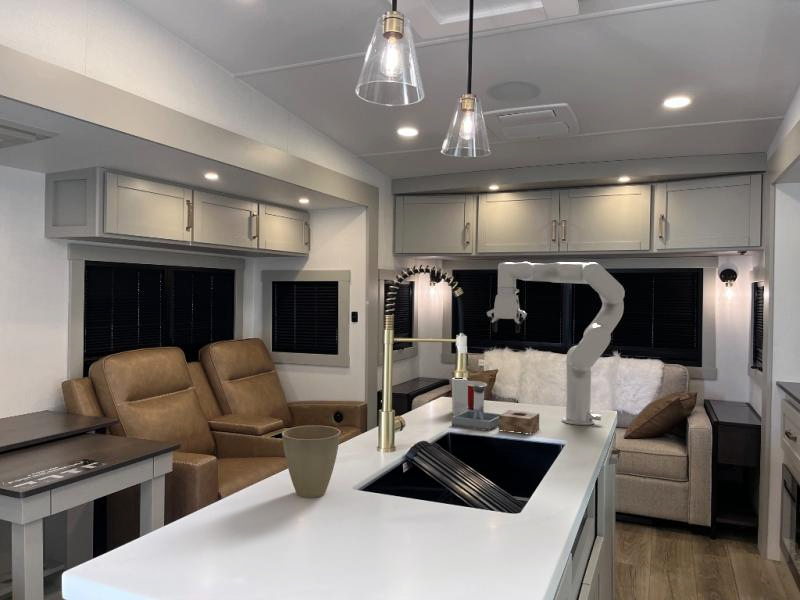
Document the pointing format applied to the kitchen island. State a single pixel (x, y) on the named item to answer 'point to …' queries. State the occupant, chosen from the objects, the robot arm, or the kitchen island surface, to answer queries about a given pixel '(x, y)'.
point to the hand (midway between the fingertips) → (506, 332)
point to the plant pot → (310, 457)
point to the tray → (468, 420)
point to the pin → (479, 402)
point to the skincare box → (459, 395)
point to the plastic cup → (471, 392)
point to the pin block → (519, 421)
